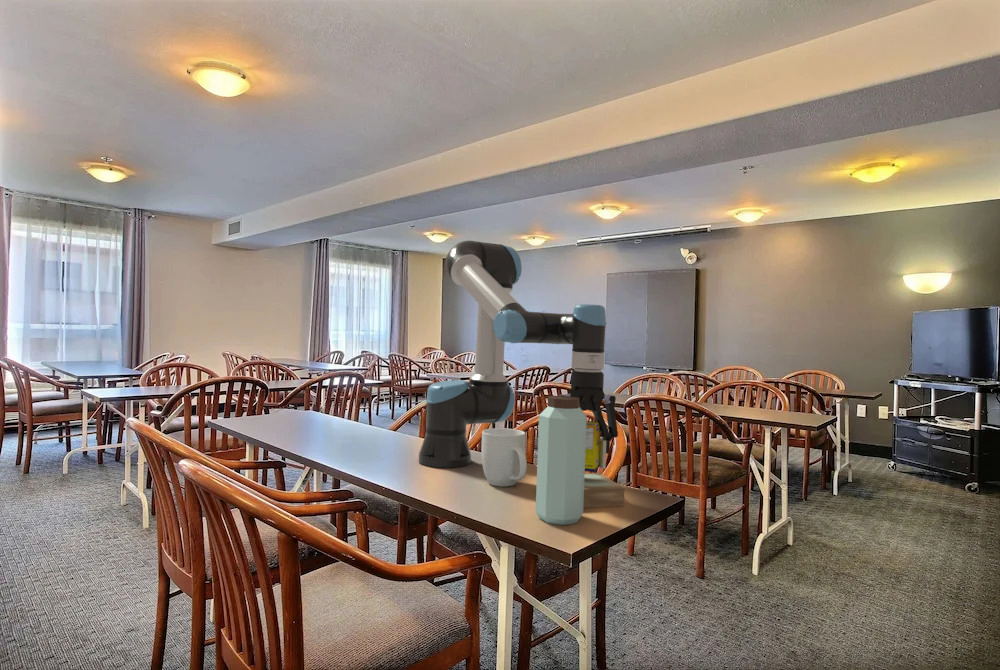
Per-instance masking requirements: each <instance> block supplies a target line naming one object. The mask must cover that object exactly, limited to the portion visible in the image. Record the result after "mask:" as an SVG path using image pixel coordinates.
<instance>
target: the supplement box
mask: <svg viewBox="0 0 1000 670" xmlns="http://www.w3.org/2000/svg"><path fill="white" fill-rule="evenodd" d="M600 439H601V433H600V425H599V422H596V421H593V420H587V421H586V448H585V472H587V473H597V470H598V469H599V468H600V467H599V453H600Z"/></svg>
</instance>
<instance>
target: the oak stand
mask: <svg viewBox="0 0 1000 670" xmlns="http://www.w3.org/2000/svg"><path fill="white" fill-rule="evenodd" d="M624 501H625V487H624V486H622V485H620V484H618V483H617V482H615V481H613V480H612V479H610V478H609V477H608V476H606V475H604V474H602V473H601V472H585V476H584V503H583V509H584V508H610V507H612V508H613V507H624V506H625V502H624Z"/></svg>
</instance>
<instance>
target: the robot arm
mask: <svg viewBox="0 0 1000 670" xmlns="http://www.w3.org/2000/svg"><path fill="white" fill-rule="evenodd" d="M522 267H523V266H522V260H521V257H520V255H519V253H518V252H517V250H516V249H515V248H514V247H512V246H508V245H504V244H502V243H501V244H499V243H492V242H491V243H490V242H484V241H482V242H481V241H476V240H463V241H461V242H460V241H459V242H458V243H457V244H455V245H453V247H451V248H450V250H449V251H448V253H447V254H446V258H445V269H446V273H447V275H448V276H449V278H450V279H451V280H452V281H453V282H454V283H455V284H456V285H458V286H460V287H463V288H464V289H465V290H466V292H468V294H469V295H470V296H471V297H472V298H473V299H474V301H475V302H476V303H478V305H477V321H476V322H477V323H476V325H477V326H476V343H475V363H474V364H475V365H474V373H473V374H472V375H471V376H470V377H469V383H468V381H467V380H464V379H463V380H462V379H454V380H443V381H442V380H441V381H436V382H434V383H432V384H430V385H429V386H428V388H427V392H426V393H427V394H426V400H425V402H426V408H425V409H426V411H425V415H426V417H425V436H424V438H423V441H422V444H421V446H420V450H419V453H418V463H419V464H421V465H423V466H427V467H430V468H431V467H432V468H457V467H458V468H459V467H465V466H467V465H471V462H472V454H471V450H470V447H469V443H468V439H467V436H466V435H467V425H474V424H475V425H476V424H477V425H478V424H495V423H501V422H504V421H506V420H508V418H509V417H510V416H511V414H512V412H513V411H514V407H515V401H516V399H515V397H516V396H515V393H514V389H513V388H512V386H511V385H510V384H508V383H509V380H508V378H507V377H506V375H505V374H504V362H505V345H506V343H510V344H551V345H572V348H571V352H572V353H571V354H572V355H571V369H573V370H572V371H571V372H570V373H571V374H570V375H571V376H570V378H571V379H570V391H569V393H565V394H561V393H559V394H558V395H557V396H571V397H577V398H579V401H580V408H581V409H582V411H583V412H585V411H591V413H592V414H593V416H594V419H595V422H599V425H600V436H601V437H602V438H600V453H599V468H600V469H602V470H604V469H606V466H607V464H606V461H607V454H610V447H611V444H610V442H611V441H612V440H613V438H614V439H615V438H616V439H617V438H618V436H619V432H618V424H617V418H616V409H615V405H616V398H617V397H616V396H615V395H612V394H605V393H604V383H605V382H604V380H605V379H604V378H605V377H604V376H605V374H604V372H603V370H604V369H605V347H606V345H605V344H606V343H605V342H606V325H607V318H606V317H607V316H606V308H605V306H603V305H600V304H590V303H589V304H587V303H586V304H581V303H580V304H575V305H574V307H573V311H572V313H555V312H554V313H553V312H540V311H529V310H527V309H526V308H524V307H523V306H522V304H520V303H519V301H517V300H516V299H515V298H514V297H513V296H512V295H511V294H510V293H511V292H512V291H513V285H516V284H517V283H518V282H519V280H520V277H521V275H522ZM602 402H604V404H605V413H606V420H605V417H604V416H603V415H604V414H603V412H602V408H601V406H600V405H601V403H602ZM606 421H607V423H606Z"/></svg>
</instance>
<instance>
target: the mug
mask: <svg viewBox="0 0 1000 670" xmlns="http://www.w3.org/2000/svg"><path fill="white" fill-rule="evenodd" d="M525 453H526V433H525V431H524V430H520V429H515V428H503V427H501V428H499V427H498V428H497V427H496V428H495V427H494V428H487V429H486V428H485V429H483V430H482V432H481V464H482V469H483V474H484V477H485V479H486V480H487V482H488V484H490V485H491V486H494V487H504V488H505V487H513V486H514V485H516V483H517V481H520V480H522V479H524V478H525V476H526V473H527V466H528V465H527V457H526V454H525Z"/></svg>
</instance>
